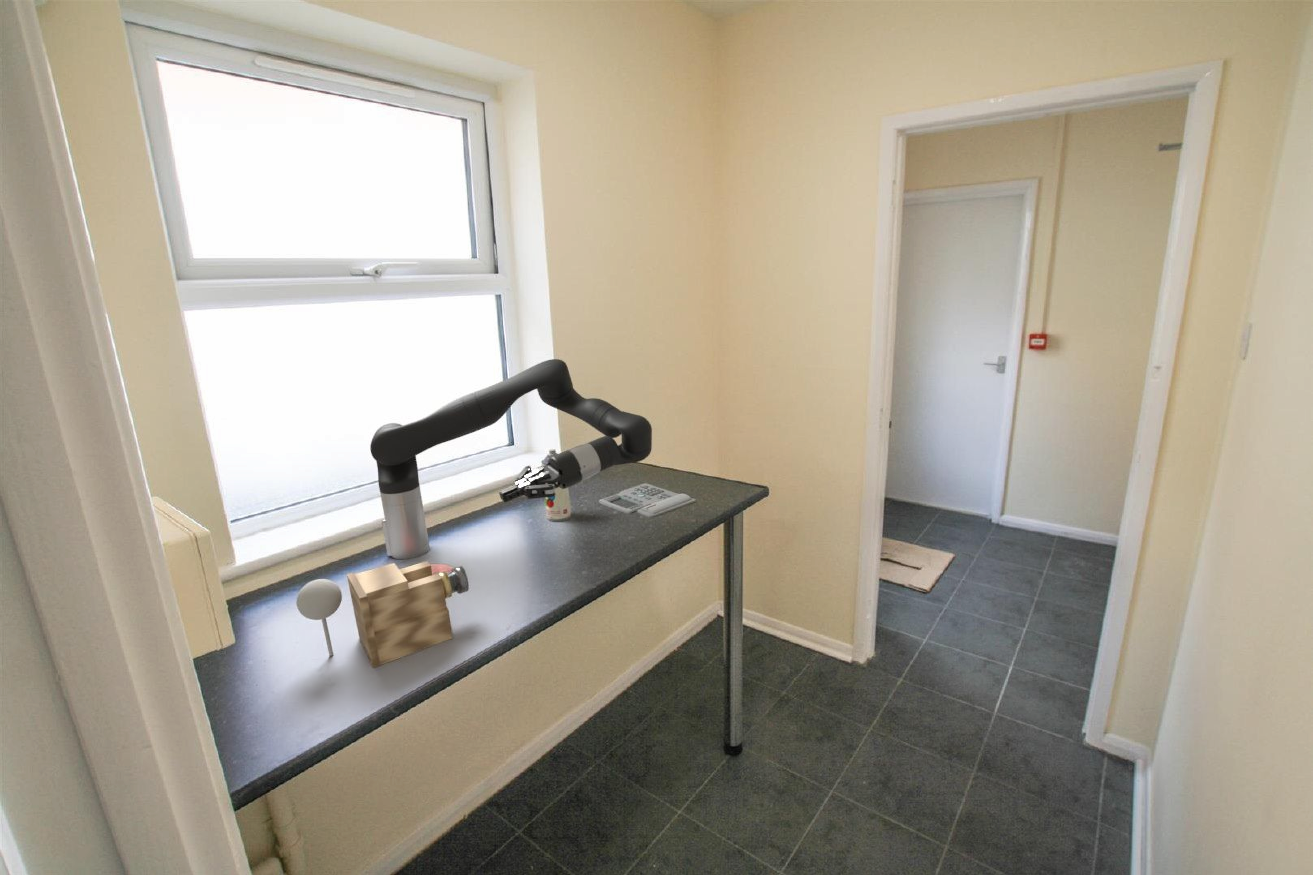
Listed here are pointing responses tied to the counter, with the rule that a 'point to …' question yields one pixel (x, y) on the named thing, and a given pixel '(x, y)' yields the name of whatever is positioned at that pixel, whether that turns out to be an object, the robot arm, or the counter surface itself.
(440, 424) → the robot arm
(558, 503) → the aerosol can
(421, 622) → the bearing block
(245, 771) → the counter surface
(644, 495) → the office telephone
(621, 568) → the counter surface
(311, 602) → the lollipop
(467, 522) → the counter surface
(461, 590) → the shaft
